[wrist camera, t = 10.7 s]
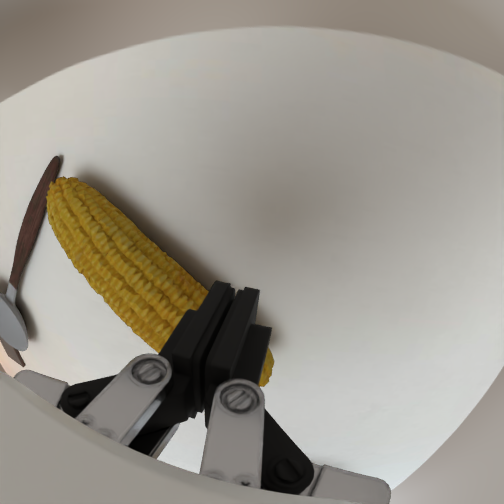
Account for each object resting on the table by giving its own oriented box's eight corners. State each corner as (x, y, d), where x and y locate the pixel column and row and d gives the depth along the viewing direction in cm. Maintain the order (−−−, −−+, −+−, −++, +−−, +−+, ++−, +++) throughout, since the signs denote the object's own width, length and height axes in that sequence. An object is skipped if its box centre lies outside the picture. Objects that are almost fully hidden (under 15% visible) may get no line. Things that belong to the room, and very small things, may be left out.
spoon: (-10, 302, 31) (-21, 312, 28) (39, 119, 18) (17, 123, 16) (33, 348, 33) (23, 360, 31) (109, 192, 21) (89, 203, 18)
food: (288, 336, 21) (280, 396, 16) (242, 367, 24) (225, 421, 18) (85, 154, 18) (27, 170, 13) (62, 207, 21) (12, 232, 15)
